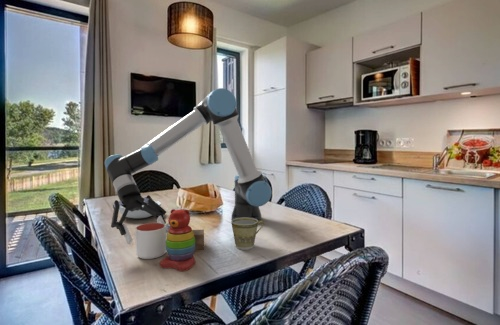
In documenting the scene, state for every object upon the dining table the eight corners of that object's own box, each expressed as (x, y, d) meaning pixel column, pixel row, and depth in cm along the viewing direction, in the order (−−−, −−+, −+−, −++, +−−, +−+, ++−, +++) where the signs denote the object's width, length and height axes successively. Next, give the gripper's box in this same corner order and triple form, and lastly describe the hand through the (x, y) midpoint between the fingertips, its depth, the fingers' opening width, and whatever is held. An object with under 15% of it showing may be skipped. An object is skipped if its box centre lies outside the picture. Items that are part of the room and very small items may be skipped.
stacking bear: (156, 267, 93) (155, 211, 92) (175, 255, 102) (174, 205, 101) (185, 272, 89) (184, 214, 88) (202, 259, 99) (201, 207, 97)
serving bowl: (133, 224, 139) (133, 210, 139) (111, 217, 152) (110, 204, 152) (169, 215, 156) (169, 202, 155) (146, 210, 169) (146, 198, 168)
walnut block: (204, 244, 113) (203, 229, 112) (204, 250, 107) (203, 234, 107) (188, 245, 112) (187, 230, 111) (187, 251, 106) (187, 235, 106)
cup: (149, 262, 96) (148, 233, 95) (130, 256, 101) (129, 228, 101) (172, 252, 105) (171, 225, 104) (153, 247, 110) (152, 221, 109)
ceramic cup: (237, 253, 104) (237, 226, 103) (227, 244, 113) (227, 218, 112) (269, 248, 109) (269, 221, 108) (258, 239, 118) (258, 215, 117)
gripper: (153, 191, 122) (174, 234, 114) (89, 200, 104) (109, 252, 95) (159, 179, 119) (182, 223, 110) (94, 187, 100) (116, 240, 91)
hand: (148, 237), depth 102 cm, fingers open, 13 cm apart
